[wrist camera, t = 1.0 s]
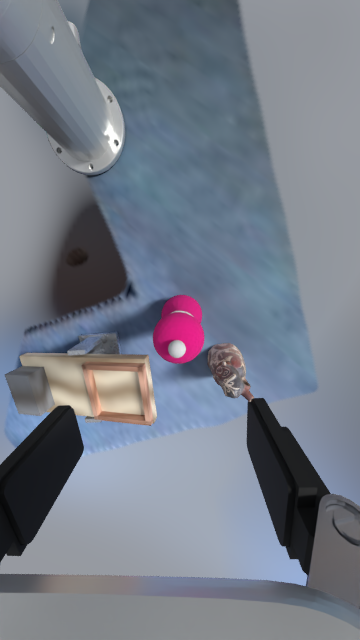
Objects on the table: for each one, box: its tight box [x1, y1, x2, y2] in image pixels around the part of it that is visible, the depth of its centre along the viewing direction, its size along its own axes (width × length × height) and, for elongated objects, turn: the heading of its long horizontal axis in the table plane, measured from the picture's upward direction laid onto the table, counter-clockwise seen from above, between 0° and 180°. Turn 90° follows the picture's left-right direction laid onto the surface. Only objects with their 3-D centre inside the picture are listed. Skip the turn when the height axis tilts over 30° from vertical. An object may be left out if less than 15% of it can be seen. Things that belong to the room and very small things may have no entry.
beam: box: [5, 353, 157, 426], centre depth 32 cm, size 12×25×4 cm, turn 95°
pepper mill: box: [153, 295, 204, 364], centre depth 27 cm, size 7×7×20 cm
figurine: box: [208, 343, 254, 402], centre depth 33 cm, size 7×7×12 cm
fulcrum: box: [67, 332, 122, 423], centre depth 37 cm, size 15×8×8 cm, turn 5°
